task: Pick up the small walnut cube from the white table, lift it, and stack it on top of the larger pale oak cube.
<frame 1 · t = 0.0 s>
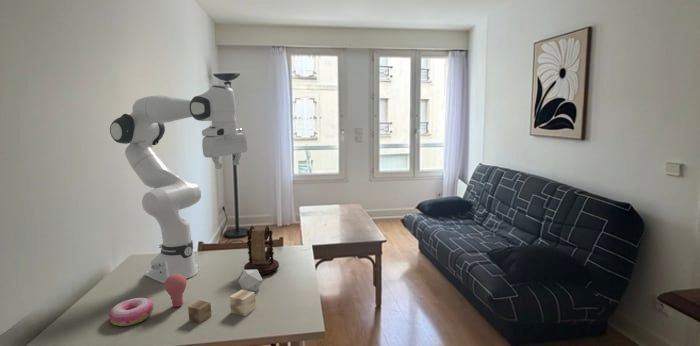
hand: (227, 166, 152), 48 cm above the table, tool pointing down, fingers open, 8 cm apart
die: (251, 290, 157), on the table
oak cube: (243, 310, 141), on the table
light bulb: (177, 306, 145), on the table
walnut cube: (200, 318, 136), on the table
scroll: (261, 270, 175), on the table
donut: (132, 318, 138), on the table
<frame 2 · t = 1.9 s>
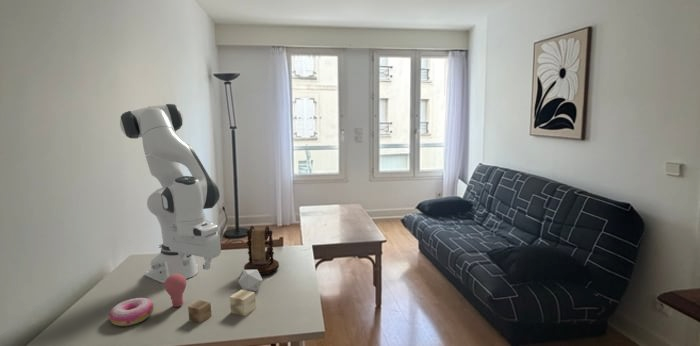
hand: (196, 266, 133), 18 cm above the table, tool pointing down, fingers open, 8 cm apart
nothing on the table moved.
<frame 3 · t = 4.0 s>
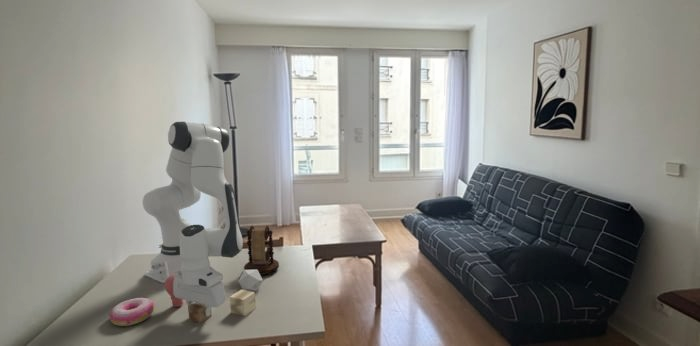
hand: (200, 313, 136), 2 cm above the table, tool pointing down, fingers closed on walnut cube, 5 cm apart
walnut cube: (200, 318, 136), on the table, touching gripper
everything else where it was.
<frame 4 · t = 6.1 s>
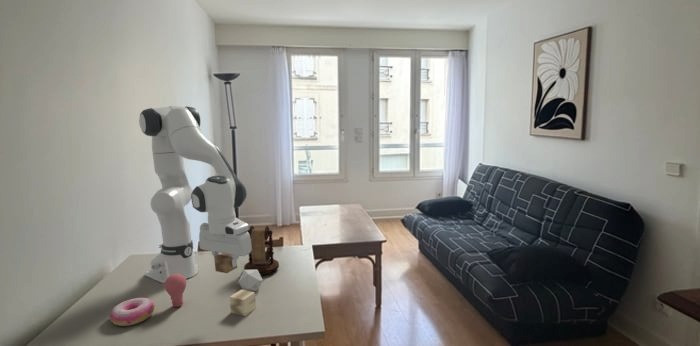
hand: (226, 264, 136), 18 cm above the table, tool pointing down, fingers closed on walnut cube, 5 cm apart
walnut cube: (226, 269, 136), point 16 cm above the table, touching gripper
everything else where it was.
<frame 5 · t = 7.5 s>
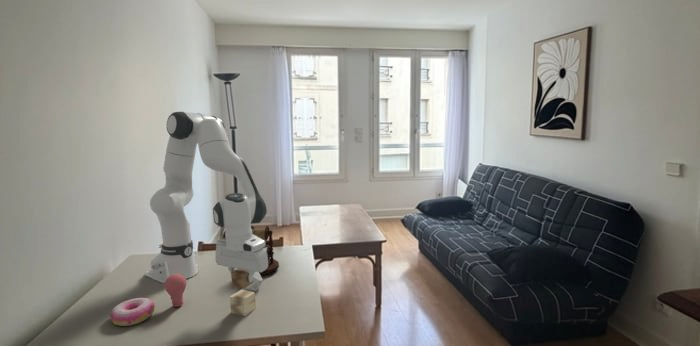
hand: (242, 279, 139), 11 cm above the table, tool pointing down, fingers closed on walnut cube, 5 cm apart
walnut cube: (242, 284, 139), point 10 cm above the table, touching gripper
everything else where it was.
when the fingers open (9 cm above the table, at t = 8.3 s): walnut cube drops 1 cm, resting on oak cube.
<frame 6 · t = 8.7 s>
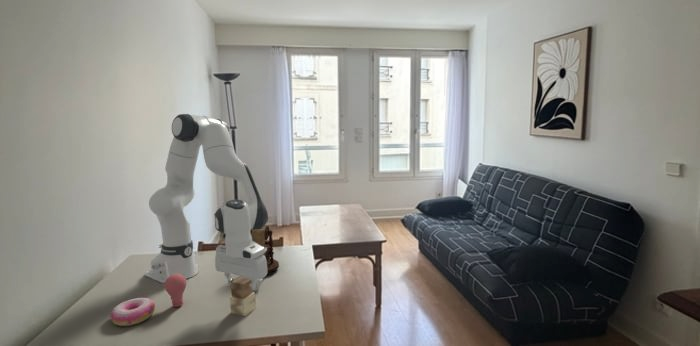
hand: (241, 286, 139), 9 cm above the table, tool pointing down, fingers open, 8 cm apart
oak cube: (243, 310, 141), on the table, touching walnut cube
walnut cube: (242, 294, 140), point 6 cm above the table, touching oak cube
everything else where it was.
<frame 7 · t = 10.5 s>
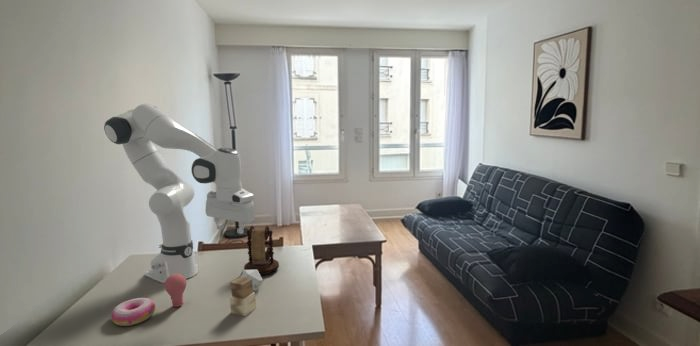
hand: (230, 231, 146), 26 cm above the table, tool pointing down, fingers open, 8 cm apart
nothing on the table moved.
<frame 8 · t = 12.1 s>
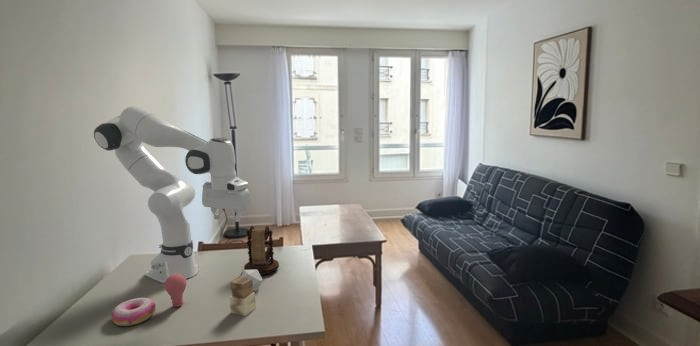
hand: (227, 220, 148), 29 cm above the table, tool pointing down, fingers open, 8 cm apart
nothing on the table moved.
at the end: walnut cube 0.2 cm off-centre on the oak cube, point 6.0 cm above the oak cube's base; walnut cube touching oak cube; the gripper is holding nothing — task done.
